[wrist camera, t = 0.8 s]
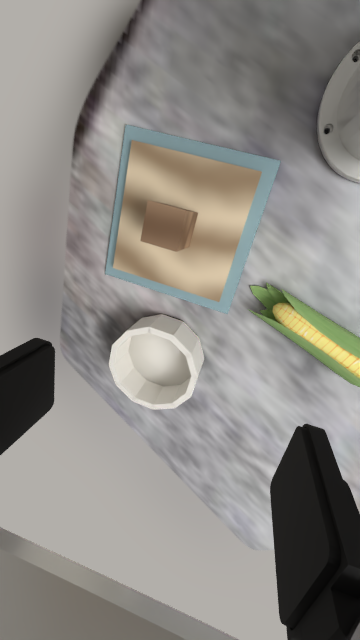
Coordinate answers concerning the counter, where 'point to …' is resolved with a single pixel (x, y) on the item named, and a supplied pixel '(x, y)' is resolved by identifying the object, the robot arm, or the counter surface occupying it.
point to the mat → (251, 225)
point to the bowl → (157, 362)
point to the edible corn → (311, 332)
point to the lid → (182, 218)
